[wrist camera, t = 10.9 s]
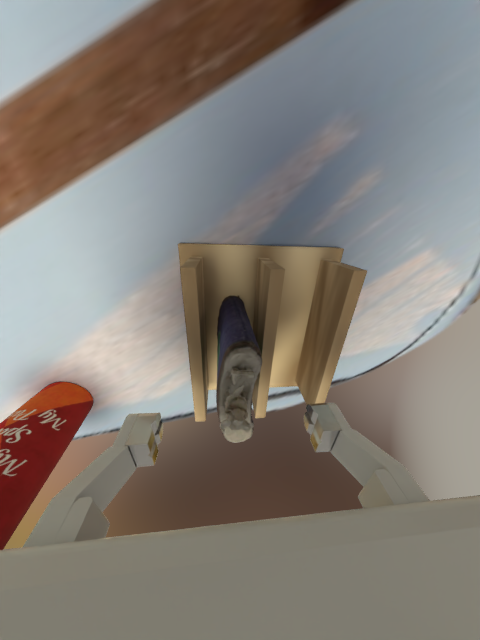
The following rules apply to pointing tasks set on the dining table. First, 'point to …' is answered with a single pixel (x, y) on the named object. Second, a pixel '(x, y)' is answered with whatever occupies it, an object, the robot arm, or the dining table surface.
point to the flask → (236, 369)
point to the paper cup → (36, 447)
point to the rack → (270, 313)
